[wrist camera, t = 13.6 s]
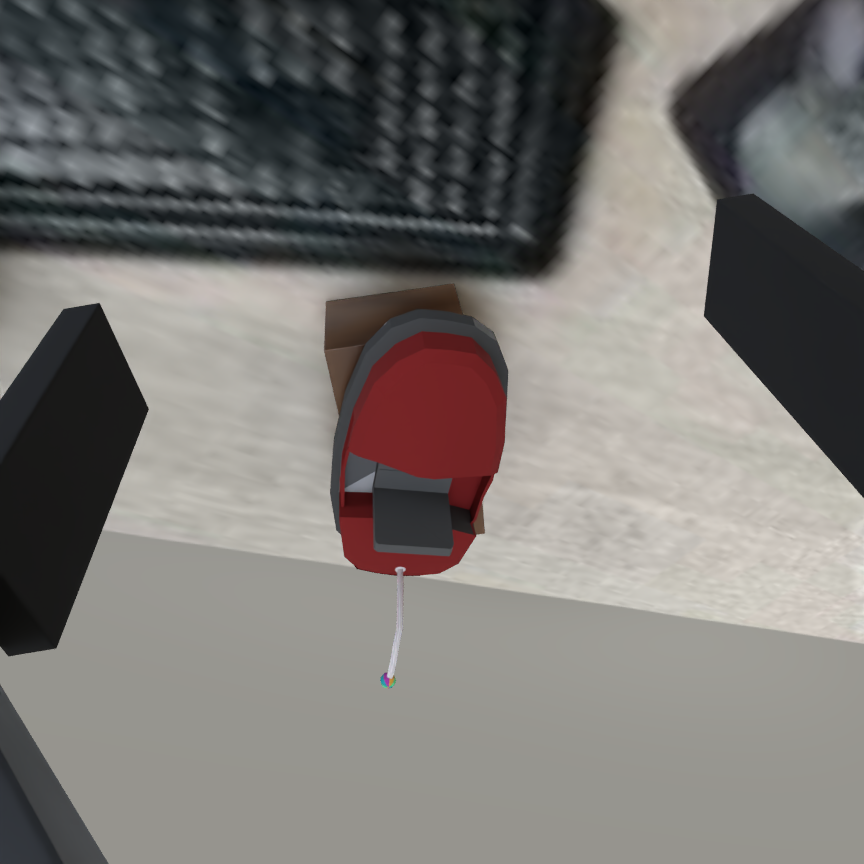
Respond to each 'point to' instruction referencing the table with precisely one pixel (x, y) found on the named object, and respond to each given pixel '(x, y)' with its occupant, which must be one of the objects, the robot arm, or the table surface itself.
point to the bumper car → (418, 446)
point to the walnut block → (362, 319)
